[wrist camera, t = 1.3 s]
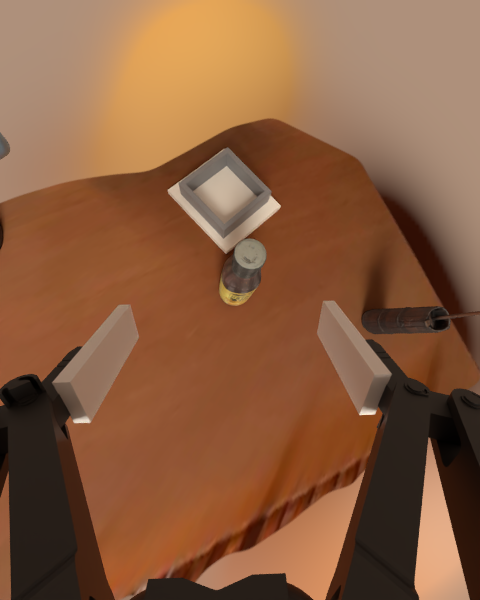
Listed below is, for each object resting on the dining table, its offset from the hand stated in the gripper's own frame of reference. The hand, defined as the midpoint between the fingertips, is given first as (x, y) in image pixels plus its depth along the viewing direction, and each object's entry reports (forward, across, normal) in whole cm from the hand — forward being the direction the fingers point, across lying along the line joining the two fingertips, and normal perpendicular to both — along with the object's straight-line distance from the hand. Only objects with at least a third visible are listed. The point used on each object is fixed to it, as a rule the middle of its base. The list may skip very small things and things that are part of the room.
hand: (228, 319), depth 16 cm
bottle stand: (+41, -1, +3) cm, 41 cm away
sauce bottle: (+29, 0, -12) cm, 31 cm away
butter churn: (+26, +28, -19) cm, 43 cm away
